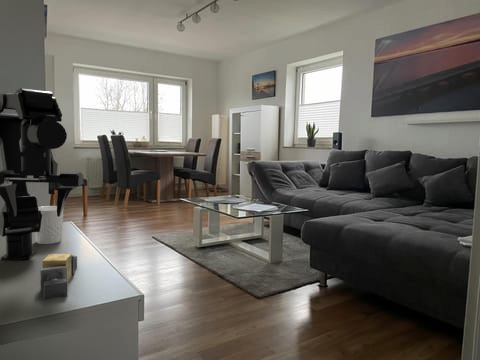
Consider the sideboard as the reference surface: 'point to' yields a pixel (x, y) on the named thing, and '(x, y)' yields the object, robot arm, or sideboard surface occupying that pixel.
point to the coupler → (58, 262)
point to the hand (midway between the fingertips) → (36, 216)
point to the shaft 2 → (73, 264)
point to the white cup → (50, 226)
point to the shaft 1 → (53, 282)
